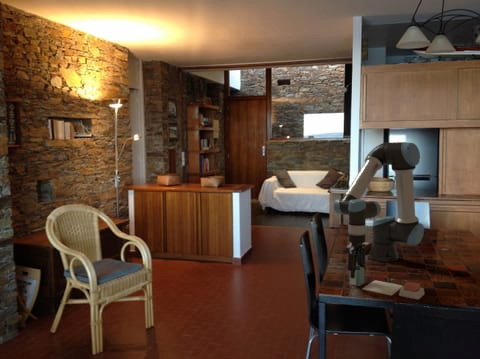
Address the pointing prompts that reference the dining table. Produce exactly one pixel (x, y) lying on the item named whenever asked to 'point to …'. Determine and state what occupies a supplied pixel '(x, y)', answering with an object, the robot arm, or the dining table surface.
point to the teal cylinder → (359, 275)
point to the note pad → (382, 287)
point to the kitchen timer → (367, 238)
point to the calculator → (367, 245)
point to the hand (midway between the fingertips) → (356, 282)
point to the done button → (412, 286)
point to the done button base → (412, 293)
